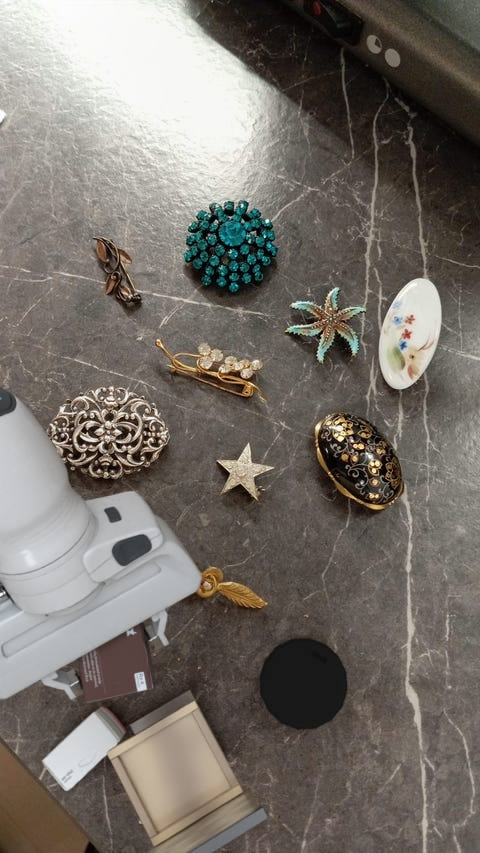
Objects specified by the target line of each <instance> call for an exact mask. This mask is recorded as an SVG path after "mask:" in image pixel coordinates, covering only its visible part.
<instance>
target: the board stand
mask: <svg viewBox="0 0 480 853" xmlns="http://www.w3.org/2000/svg"><path fill="white" fill-rule="evenodd" d="M192 700H195V701H196V703H197V705H198V707H199V709H200V710H201V712H202V714H203V716H204V718H205V720H206V722H207V724H208V726H209V727H210V729H211V731H212V733H213V735H214V737H215V739H216V741H217V742H218V744H219V746H220V748H221V750H222V752H223V754H224V756H225V757H226V759H227V760H228V757H227V756H226V754H225V751H224V750H223V747H222V746H221V745H220V742H219V741H218V738H217V737H216V734H215V733H214V731H213V730H212V727H211V726H210V723H209V722H208V720H207V718H206V716H205V714H204V712H203V710H202V708H201V707H200V705H199V703H198V701H197V698H195V695H194V693H193V692H192V690H191V689H190V688H189V689H187V690H186V691H184V692H182V693H180V694H178V695H177V696H175V697H174V698H172V699H170V700H169V701H167V702H165V703H163V704H162V705H160V706H158V707H157V708H155V709H153V710H151V711H150V712H148V713H146V714H144V715H143V716H141V717H139V718H138V719H136V720H134V721H133V722H130V723H129V727H130V729H131V731H132V733H133V735H135V734H137V733H138V732H140V731H142V730H143V729H145V728H147V727H148V726H150V725H152V724H153V723H155V722H157V721H159V720H160V719H162V718H164V717H165V716H167V715H169V714H170V713H172V712H174V711H176V710H177V709H179V708H181V707H182V706H184V705H186V704H187V703H189V702H191V701H192ZM268 819H270V817H269V815H268V813H267V811H266V809H265V807H264V806H263V805H261V806H260V805H259V803H258V801H257V798H256V797H255V794H254V792H253V791H252V789H251V787H247V788H245V789H243V793H241V794H239V795H238V796H236V797H235V798H233V799H231V800H230V801H228V802H226V803H225V804H223V805H222V806H220V807H218V808H217V809H215V810H213V811H212V812H210V813H209V814H207V815H205V816H204V817H202V818H201V819H199V820H197V821H196V822H194V823H192V824H191V825H189V826H188V827H186V828H184V829H183V830H181V831H179V832H178V833H176V834H175V835H173V836H171V837H170V838H168V839H166V840H165V841H163V842H162V843H160V844H158V845H157V846H155V847H154V846H153V845H152V847H150V848H149V849H148V852H147V853H215V852H217V851H219V850H220V849H222V848H224V847H225V846H226V845H228V844H230V843H231V842H233V841H235V840H236V839H238V838H239V837H241V836H242V835H244V834H246V833H248V832H249V831H251V830H252V829H254V828H255V827H257V826H259V825H260V824H262V823H263V822H265V821H267V820H268Z"/></svg>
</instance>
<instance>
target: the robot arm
mask: <svg viewBox="0 0 480 853" xmlns="http://www.w3.org/2000/svg"><path fill="white" fill-rule="evenodd" d="M68 473H69V472H68V468H67V466H66V465H65V462H64V461H63V459H62V457H61V455H60V453H59V452H58V449H56V447H55V445H54V443H53V442H52V440H51V438H50V437H49V435H48V434H47V432H46V431H45V429H44V427H43V426H42V425H41V423H40V422H39V420H38V419H37V418H36V417H35V415H34V414H33V412H32V411H31V410H30V409H29V408H28V407H27V406H26V404H25V403H24V402H23V401H22V400H21V399H20V398H19V397H18V396H16V395H15V394H13V393H12V392H10V391H9V390H7V389H5V388H2V387H0V584H2V585H1V586H0V700H7V699H9V698H10V697H12V696H14V695H16V694H18V693H19V692H21V691H23V690H25V689H26V688H28V687H30V686H32V685H33V684H35V683H37V682H38V681H41V682H42V684H43V685H44V686H47V687H49V688H53V689H57V690H61V691H64V692H65V693H66V696H67V697H68V698H69V699H70V700H74V699H76V698H77V697H80V696H81V695H84V693H83V687H82V681H81V676H80V675H79V674H78V672H77V670H76V669H75V667H74V668H71V669H70V670H68V671H64V670H61V668H63V667H66V666H67V665H68V664H71V663H72V662H74V661H76V660H78V658H79V657H81V656H83V655H85V654H86V653H88V652H90V651H92V650H93V649H95V648H97V647H99V646H101V645H102V644H104V643H106V642H108V641H109V640H111V639H113V638H115V637H116V636H118V635H120V634H122V633H124V632H125V631H127V630H129V629H131V628H132V627H134V626H136V625H138V624H139V623H141V622H142V623H144V622H145V621H146V620H149V619H150V624H148V625H146V626H145V628H144V632H145V634H146V636H147V638H148V642H149V645H150V646H151V647H152V649H153V651H154V652H157V651H159V650H160V649H163V648H164V647H166V646H168V645H170V642H169V641H168V640H169V639H168V638H167V636H166V635H165V631H166V626H167V622H168V617H169V614H168V612H167V610H166V609H168V608H170V607H171V606H173V605H175V604H177V603H179V602H180V601H182V600H184V599H185V598H187V597H189V596H191V595H192V594H195V593H196V592H198V590H199V589H200V587H201V585H202V584H201V583H202V581H203V575H202V573H201V571H200V570H199V568H198V566H197V565H196V563H195V561H194V559H193V558H192V556H191V555H190V553H189V552H188V550H187V548H186V547H185V546H184V544H183V542H182V541H181V540H180V538H179V537H178V535H177V534H176V533H175V532H174V530H173V529H172V528H171V527H170V525H169V524H168V523H167V522H166V521H165V520H164V519H163V518H162V517H160V516H158V515H155V513H154V511H153V509H152V508H151V507H150V505H149V504H148V503H147V501H146V500H145V499H144V498H143V496H142V495H140V494H139V493H138V492H137V491H134V490H129V491H123V492H119V493H115V494H111V495H106V496H102V497H97V498H93V499H86V500H84V498H83V497H82V496H81V495H80V494H79V493H77V491H75V490H74V488H73V487H72V485H71V483H70V477H69V474H68Z"/></svg>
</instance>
